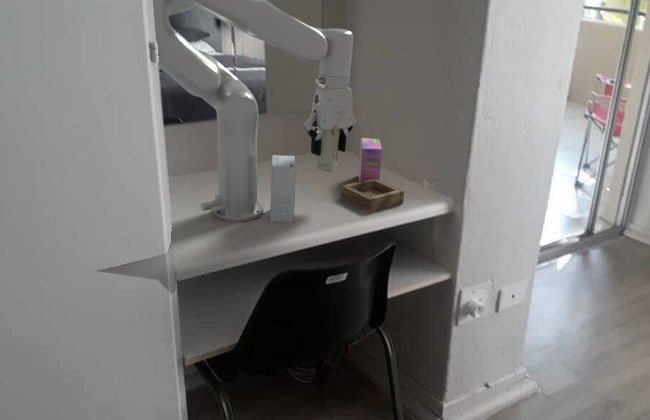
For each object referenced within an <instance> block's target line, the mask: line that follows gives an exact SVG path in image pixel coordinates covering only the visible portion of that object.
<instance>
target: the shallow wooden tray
mask: <svg viewBox="0 0 650 420" xmlns="http://www.w3.org/2000/svg"><path fill="white" fill-rule="evenodd" d="M340 188H341V189H340V199H342V200H344V201H346V202H349V203H350V204H353V205H355V206H357V207H359V208H361V209H362V210H364V211H366V212H369V213H372V212H377V211H379V210H383V209H387V208H389V207H394V206H398V205H402V204H404V198H405V191H404V190H403V189H401V188H398V187H396V186H394V185H391V184H389V183H386V182H385V181H382V180H380V179H379V180H378V179H375V178H373V179H368V180H364V181H360V182H359V181H356V182H351V183H348V184H342V185H341V187H340Z"/></svg>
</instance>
